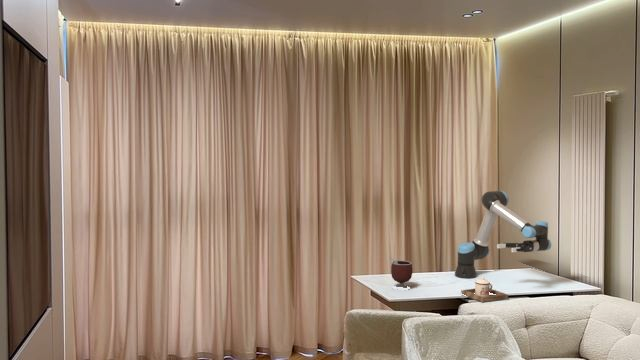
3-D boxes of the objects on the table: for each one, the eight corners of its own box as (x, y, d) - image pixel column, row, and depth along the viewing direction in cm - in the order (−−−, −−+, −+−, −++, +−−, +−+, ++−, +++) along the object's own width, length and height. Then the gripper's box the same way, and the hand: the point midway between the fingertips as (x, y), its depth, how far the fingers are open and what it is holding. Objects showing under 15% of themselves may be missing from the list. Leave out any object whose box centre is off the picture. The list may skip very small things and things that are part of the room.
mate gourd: (415, 287, 398) (416, 257, 397) (406, 292, 387) (406, 261, 385) (394, 284, 407) (395, 255, 405) (384, 288, 395) (385, 258, 394)
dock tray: (461, 294, 381) (461, 290, 381) (485, 291, 390) (485, 287, 389) (482, 302, 363) (482, 298, 363) (507, 299, 372) (508, 294, 371)
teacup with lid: (480, 298, 370) (481, 279, 369) (471, 294, 378) (472, 276, 377) (496, 296, 375) (497, 278, 374) (487, 293, 383) (487, 274, 382)
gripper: (543, 255, 385) (518, 257, 377) (516, 248, 408) (491, 250, 400) (544, 243, 385) (518, 245, 376) (517, 237, 408) (491, 239, 399)
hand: (504, 248), depth 388 cm, fingers open, 13 cm apart
